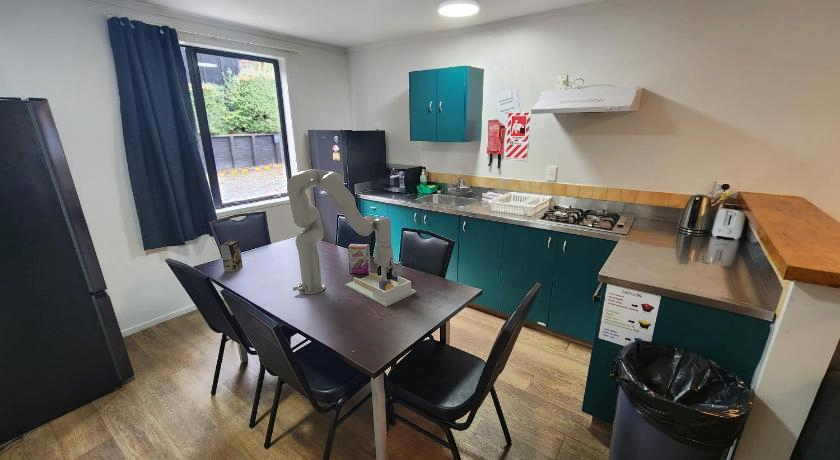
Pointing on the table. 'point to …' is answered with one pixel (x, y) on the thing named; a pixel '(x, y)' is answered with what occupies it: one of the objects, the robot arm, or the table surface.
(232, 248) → the coffee box
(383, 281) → the kicker
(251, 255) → the table surface
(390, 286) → the ball
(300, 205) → the robot arm
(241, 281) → the table surface
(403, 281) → the white tray
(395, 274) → the medicine box
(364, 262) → the candy bar box
